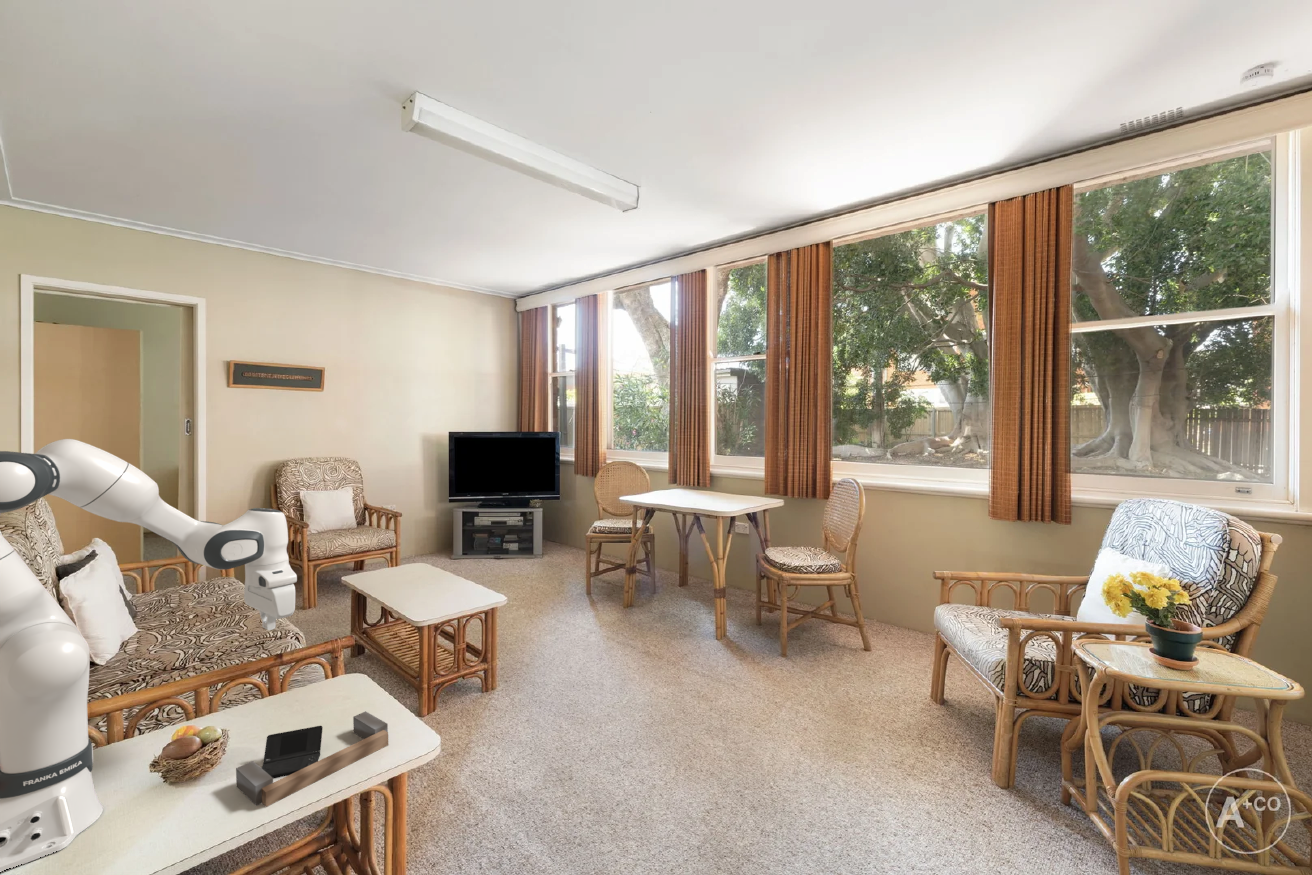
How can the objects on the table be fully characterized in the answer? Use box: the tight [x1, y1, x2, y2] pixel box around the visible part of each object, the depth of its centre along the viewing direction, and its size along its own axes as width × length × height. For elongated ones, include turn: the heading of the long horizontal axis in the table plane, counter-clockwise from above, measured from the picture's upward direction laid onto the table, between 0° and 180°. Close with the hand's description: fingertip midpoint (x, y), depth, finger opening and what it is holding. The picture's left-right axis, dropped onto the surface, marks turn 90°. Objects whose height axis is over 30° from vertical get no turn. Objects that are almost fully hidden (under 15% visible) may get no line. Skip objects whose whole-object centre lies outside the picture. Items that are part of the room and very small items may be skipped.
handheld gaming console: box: [261, 725, 323, 779], centre depth 122 cm, size 12×7×10 cm
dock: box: [235, 711, 389, 807], centre depth 122 cm, size 27×12×4 cm, turn 146°
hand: (269, 628), depth 136 cm, fingers closed
